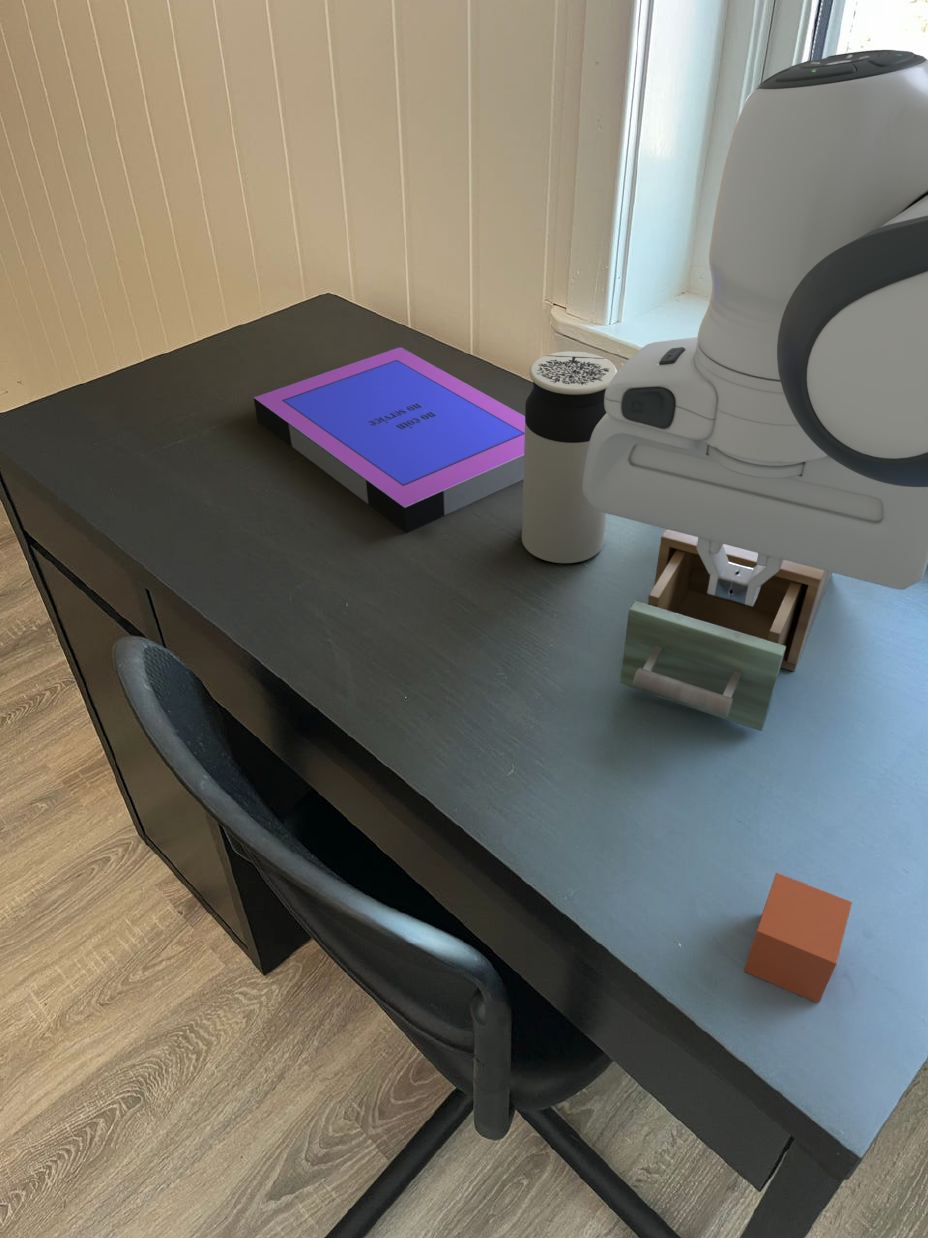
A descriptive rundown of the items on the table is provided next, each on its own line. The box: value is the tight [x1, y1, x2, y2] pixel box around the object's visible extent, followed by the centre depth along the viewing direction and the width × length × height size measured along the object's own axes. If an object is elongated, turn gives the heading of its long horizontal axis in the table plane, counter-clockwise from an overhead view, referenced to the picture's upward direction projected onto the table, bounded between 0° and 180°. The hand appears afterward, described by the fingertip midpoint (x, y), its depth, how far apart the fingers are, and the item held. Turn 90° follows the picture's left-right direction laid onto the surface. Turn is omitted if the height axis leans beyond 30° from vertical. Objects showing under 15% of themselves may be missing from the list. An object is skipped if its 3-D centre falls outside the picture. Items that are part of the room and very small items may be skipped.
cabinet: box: [653, 529, 833, 672], centre depth 82 cm, size 15×13×10 cm
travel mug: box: [521, 350, 618, 564], centre depth 86 cm, size 8×8×18 cm
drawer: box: [619, 549, 806, 732], centre depth 74 cm, size 18×11×8 cm, turn 152°
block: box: [743, 872, 853, 1004], centre depth 57 cm, size 4×4×4 cm
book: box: [252, 346, 525, 534], centre depth 107 cm, size 21×3×30 cm
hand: (732, 595), depth 60 cm, fingers closed
